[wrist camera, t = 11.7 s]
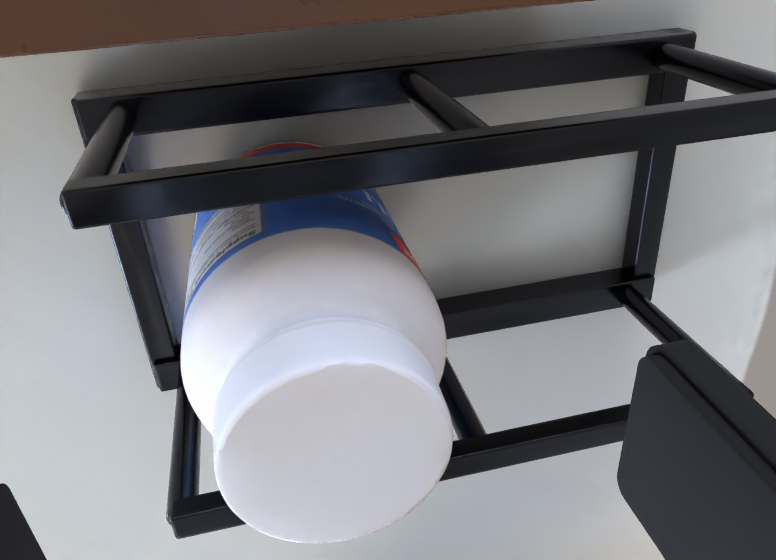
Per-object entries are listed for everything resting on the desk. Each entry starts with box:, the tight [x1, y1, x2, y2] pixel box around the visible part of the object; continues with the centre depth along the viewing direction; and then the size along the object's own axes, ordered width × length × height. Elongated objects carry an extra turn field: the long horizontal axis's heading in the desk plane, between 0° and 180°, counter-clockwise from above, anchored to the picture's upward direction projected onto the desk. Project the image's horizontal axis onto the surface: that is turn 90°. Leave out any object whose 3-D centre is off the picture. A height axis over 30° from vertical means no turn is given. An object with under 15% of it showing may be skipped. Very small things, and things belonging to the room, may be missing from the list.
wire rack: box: [60, 28, 776, 539], centre depth 17 cm, size 9×17×7 cm, turn 94°
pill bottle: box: [181, 141, 453, 543], centre depth 15 cm, size 6×5×10 cm
